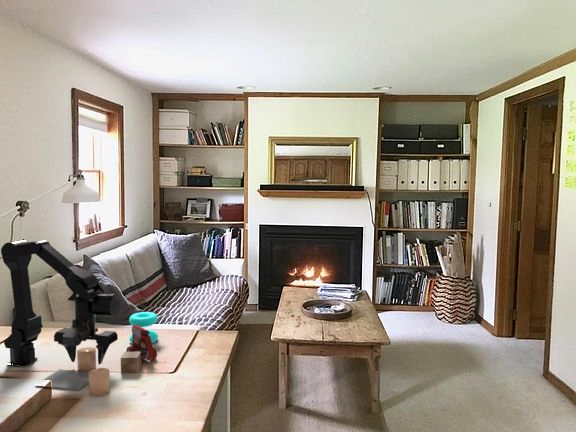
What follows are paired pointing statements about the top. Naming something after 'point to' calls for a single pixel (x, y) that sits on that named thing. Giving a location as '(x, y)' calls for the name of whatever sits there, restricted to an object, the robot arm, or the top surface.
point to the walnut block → (130, 362)
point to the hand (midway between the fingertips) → (86, 362)
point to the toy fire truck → (142, 343)
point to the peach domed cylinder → (86, 359)
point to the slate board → (69, 379)
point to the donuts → (144, 323)
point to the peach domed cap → (99, 382)
